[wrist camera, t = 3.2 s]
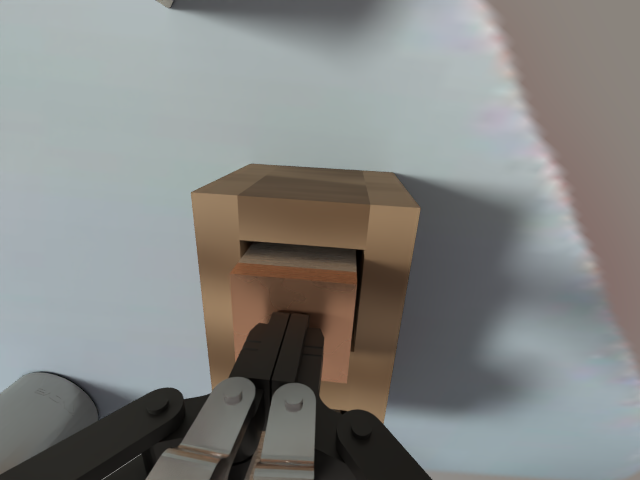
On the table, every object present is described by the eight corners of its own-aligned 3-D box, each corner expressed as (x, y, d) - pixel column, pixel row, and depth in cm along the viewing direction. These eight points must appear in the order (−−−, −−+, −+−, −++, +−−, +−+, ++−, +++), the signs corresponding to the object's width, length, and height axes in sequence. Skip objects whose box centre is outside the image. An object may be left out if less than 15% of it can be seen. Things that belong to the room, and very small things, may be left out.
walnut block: (364, 390, 29) (370, 501, 21) (257, 379, 30) (221, 482, 21) (393, 172, 22) (420, 208, 13) (250, 163, 22) (190, 192, 14)
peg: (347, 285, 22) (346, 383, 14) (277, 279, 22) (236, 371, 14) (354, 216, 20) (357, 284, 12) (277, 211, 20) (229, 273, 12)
